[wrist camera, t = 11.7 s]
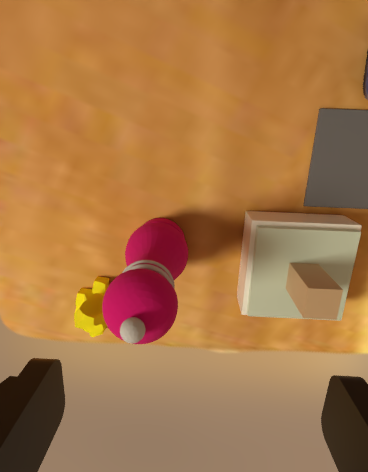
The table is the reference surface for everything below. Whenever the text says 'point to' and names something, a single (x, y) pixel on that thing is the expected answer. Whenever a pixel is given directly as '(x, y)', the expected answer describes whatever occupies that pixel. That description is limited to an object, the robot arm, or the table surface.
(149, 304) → the pepper mill
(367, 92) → the flask
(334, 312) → the lid
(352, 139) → the mat
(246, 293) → the dish
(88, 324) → the yellow lumpy cluster
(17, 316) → the table surface
